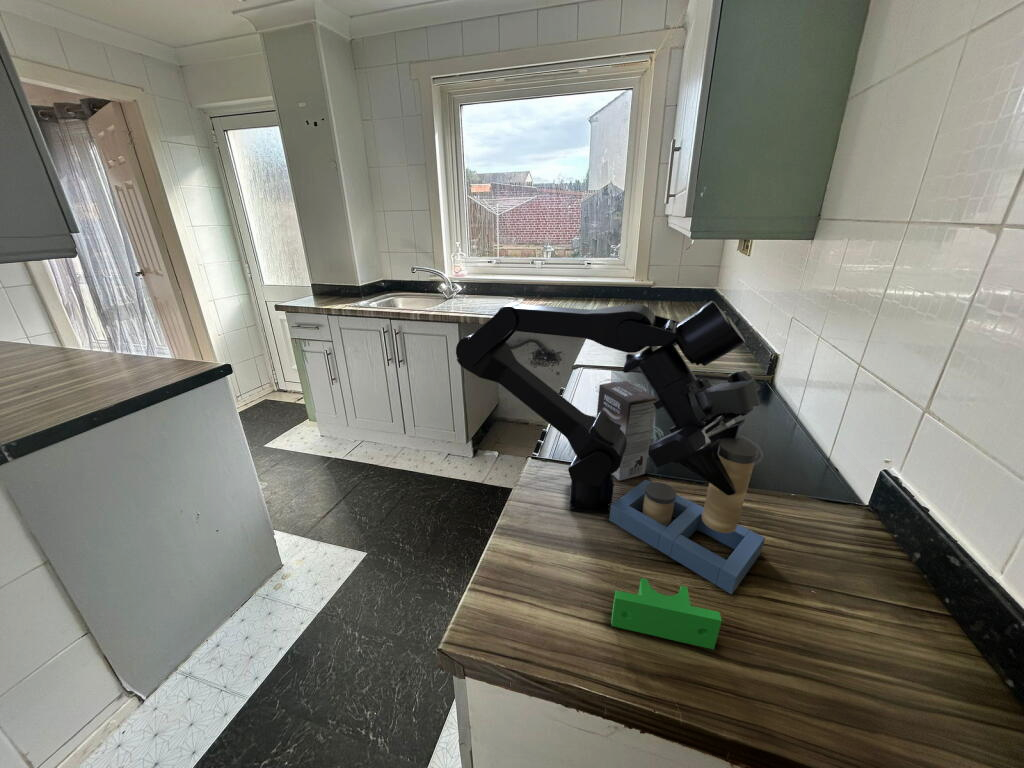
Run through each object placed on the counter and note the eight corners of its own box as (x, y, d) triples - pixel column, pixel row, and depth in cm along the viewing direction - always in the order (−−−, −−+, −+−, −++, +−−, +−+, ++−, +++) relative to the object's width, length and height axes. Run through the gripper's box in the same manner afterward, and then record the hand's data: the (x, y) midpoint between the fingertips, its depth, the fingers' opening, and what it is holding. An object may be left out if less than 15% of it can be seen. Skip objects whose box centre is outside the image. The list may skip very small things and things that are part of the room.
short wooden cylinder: (642, 530, 62) (648, 498, 60) (638, 511, 66) (643, 480, 64) (673, 533, 62) (679, 501, 59) (667, 514, 66) (672, 483, 64)
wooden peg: (706, 531, 54) (724, 453, 49) (697, 509, 58) (713, 436, 54) (742, 535, 53) (764, 457, 49) (730, 513, 57) (750, 439, 53)
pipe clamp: (707, 620, 48) (715, 592, 46) (713, 650, 45) (722, 621, 43) (611, 599, 51) (615, 571, 49) (610, 626, 47) (615, 597, 46)
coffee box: (591, 457, 82) (597, 383, 76) (617, 451, 84) (625, 379, 78) (619, 482, 74) (628, 402, 68) (646, 474, 76) (658, 396, 70)
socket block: (608, 520, 64) (610, 504, 63) (643, 493, 71) (645, 479, 70) (731, 594, 51) (736, 577, 50) (760, 553, 58) (765, 537, 57)
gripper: (688, 370, 44) (775, 502, 40) (752, 341, 55) (824, 442, 52) (619, 411, 52) (686, 524, 49) (687, 379, 64) (745, 467, 60)
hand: (739, 487), depth 52 cm, fingers closed on wooden peg, 4 cm apart
